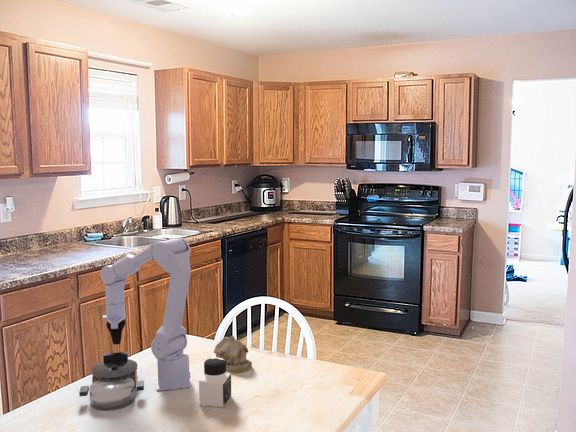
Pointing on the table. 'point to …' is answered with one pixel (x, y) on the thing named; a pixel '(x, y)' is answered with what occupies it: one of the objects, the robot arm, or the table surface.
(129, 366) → the lid
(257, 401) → the table surface
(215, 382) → the medicine bottle
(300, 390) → the table surface
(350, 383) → the table surface
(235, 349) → the ceramic model
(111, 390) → the cooker
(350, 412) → the table surface
